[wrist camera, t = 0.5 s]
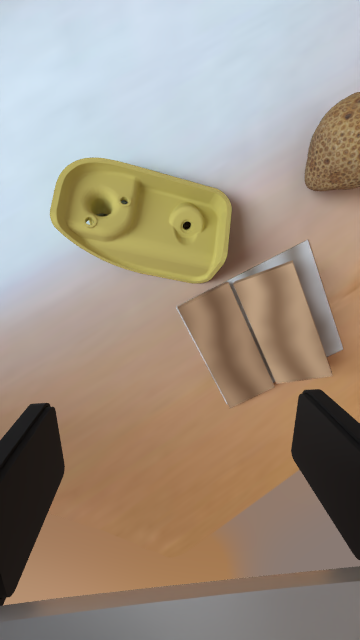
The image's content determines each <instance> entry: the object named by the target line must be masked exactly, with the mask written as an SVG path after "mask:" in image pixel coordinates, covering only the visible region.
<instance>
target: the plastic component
mask: <svg viewBox="0 0 360 640" xmlns="http://www.w3.org/2000/svg"><path fill="white" fill-rule="evenodd" d="M122 200H125V201H127V202H128V203H127V204H122V203H121V201H122ZM231 212H232V208H231V203H230V201H229V199H228V198H227V196H226V195H225V194H224V193H223V192H221V191H220V190H218V189H216V188H212V187H209V186H205V185H201V184H198V183H194V182H191V181H187V180H184V179H180V178H177V177H173V176H170V175H166V174H162V173H159V172H155V171H152V170H148V169H145V168H141V167H138V166H134V165H130V164H127V163H123V162H119V161H115V160H110V159H104V158H84V159H80V160H77V161H75V162H73V163H71V164H70V165H68V166H67V167H66V168H65V169H64V170H63V171H62V172H61V174H60V175H59V177H58V180H57V182H56V186H55V190H54V195H53V200H52V204H51V209H50V218H51V221H52V223H53V225H54V227H55V228H56V229H57V230H58V231H60V232H61V233H62V234H63V235H64V236H65V237H67V238H68V239H69V240H70V241H72V242H73V243H74V244H76V245H77V246H79V247H80V248H82V249H83V250H85V251H87V252H89V253H90V254H92V255H94V256H96V257H98V258H100V259H102V260H104V261H106V262H108V263H111V264H113V265H115V266H118V267H121V268H124V269H127V270H130V271H134V272H138V273H142V274H147V275H152V276H157V277H162V278H167V279H173V280H178V281H183V282H188V283H203V282H207V281H209V280H211V279H212V278H213V276H214V275H215V274H216V273H217V271H218V270H219V269H220V268H221V266H222V265H223V264H224V262H225V260H226V257H227V253H228V243H229V233H230V222H231ZM102 213H104V214H107V215H108V216H103V217H102V216H97V215H98V214H102ZM88 220H89V222H90V225H88V224H86V222H87V221H88ZM187 221H188V222H190V223H191V227H190V228H189V229H184V228H183V223H184V222H187Z"/></svg>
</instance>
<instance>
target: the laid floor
mask: <svg viewBox="0 0 360 640" xmlns="http://www.w3.org/2000/svg"><path fill="white" fill-rule="evenodd" d="M292 260H293V263H294V266H295V268H296V271H297V274H298V277H299V280H300V283H301V285H302V288H303V291H304V294H305V297H306V300H307V303H308V305H309V308H310V311H311V314H312V317H313V320H314V323H315V325H316V328H317V331H318V334H319V337H320V340H321V342H322V345H323V348H324V351H325V354H326V357H328V356H330V355H332V354H334V353H336V352H339V351H341V350H343V347H342V344H341V341H340V337H339V334H338V331H337V328H336V325H335V322H334V319H333V316H332V313H331V310H330V307H329V304H328V300H327V297H326V294H325V291H324V288H323V285H322V282H321V279H320V276H319V273H318V270H317V267H316V263H315V260H314V257H313V254H312V251H311V248H310V245H309V242H308V240H306V241H304V242H302V243H300V244H298V245H296V246H294V247H292V248H290V249H289V250H287V251H285V252H283V253H281V254H279V255H277V256H275V257H273V258H271V259H269V260H267V261H265V262H263V263H261V264H259V265H257V266H255V267H253V268H251V269H249V270H247V271H245V272H243V273H241V274H239V275H238V276H236V277H234V278H232V279H230V280H228V281H226V282H224V283H222V284H220V285H218V286H216V287H214V288H212V289H210V290H208V291H206V292H204V293H202V294H200V295H198V296H196V297H194V298H192V299H190V300H189V301H187V302H185V303H183V304H181V305H179V306H177V307H176V308H177V310H178V312H179V314H180V316H181V318H182V320H183V322H184V323H185V325H186V327H187V329H188V331H189V333H190V335H191V337H192V339H193V341H194V343H195V344H196V346H197V348H198V350H199V352H200V354H201V356H202V358H203V360H204V362H205V363H206V365H207V367H208V369H209V371H210V373H211V375H212V377H213V379H214V381H215V382H216V384H217V386H218V388H219V390H220V392H221V394H222V396H223V398H224V400H225V402H226V403H227V404H228V405H229V407H230V408H232V407H234V406H236V405H238V404H241V403H243V402H245V401H247V400H249V399H251V398H253V397H255V396H257V395H260V394H262V393H264V392H266V391H268V390H270V389H272V388H274V384H273V383H274V382H276V381H275V379H274V377H273V374H272V372H271V370H270V368H269V365H268V363H267V361H266V358H265V356H264V354H263V352H262V349H261V347H260V345H259V342H258V340H257V338H256V336H255V333H254V331H253V329H252V326H251V324H250V322H249V320H248V317H247V315H246V313H245V310H244V308H243V306H242V304H241V301H240V299H239V297H238V294H237V292H236V290H235V288H234V285H233V284H234V282H235V281H237V280H240V279H243V278H246V277H248V276H251V275H254V274H256V273H259V272H262V271H265V270H267V269H270V268H273V267H275V266H278V265H281V264H284V263H286V262H289V261H292Z"/></svg>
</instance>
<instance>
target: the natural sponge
mask: <svg viewBox="0 0 360 640" xmlns="http://www.w3.org/2000/svg"><path fill="white" fill-rule="evenodd" d="M305 184H306V186H307V187H308V188H309V189H311V190H314V191H328V190H335V189H353V188H357V187H360V92H357V93H354V94H352V95H350V96H348V97H347V98H345V99H343V100H341V101H340V102H339V103H337V104H336V105H335V106H334V107H332V108H331V109H330V110H329V111H328V112H327V113H326V114H325V116H324V117H323V118H322V120H321V122H320V123H319V125H318V127H317V128H316V130H315V132H314V134H313V136H312V139H311V142H310V146H309V151H308V159H307V163H306V169H305Z"/></svg>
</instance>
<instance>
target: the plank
mask: <svg viewBox="0 0 360 640" xmlns="http://www.w3.org/2000/svg"><path fill="white" fill-rule="evenodd" d="M233 285H234V288H235V290H236V292H237V294H238V297H239V299H240V301H241V304H242V306H243V308H244V310H245V313H246V315H247V317H248V320H249V322H250V324H251V326H252V329H253V331H254V333H255V336H256V338H257V340H258V342H259V345H260V347H261V349H262V352H263V354H264V356H265V358H266V361H267V363H268V365H269V368H270V370H271V372H272V374H273V377H274V379H275V381H276V384H279V383H286V382H294V381H301V380H308V379H316V378H323V377H330V376H333V375H332V371H331V368H330V365H329V362H328V360H327V357H326V354H325V351H324V348H323V345H322V342H321V340H320V337H319V334H318V331H317V328H316V325H315V323H314V320H313V317H312V314H311V311H310V308H309V305H308V303H307V300H306V297H305V294H304V291H303V288H302V285H301V283H300V280H299V277H298V274H297V271H296V268H295V266H294V263H293V260H292V261H289V262H286V263H284V264H281V265H278V266H275V267H273V268H270V269H267V270H265V271H262V272H259V273H256V274H254V275H251V276H248V277H246V278H243V279H240V280H237V281H235V282H234V284H233Z"/></svg>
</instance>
